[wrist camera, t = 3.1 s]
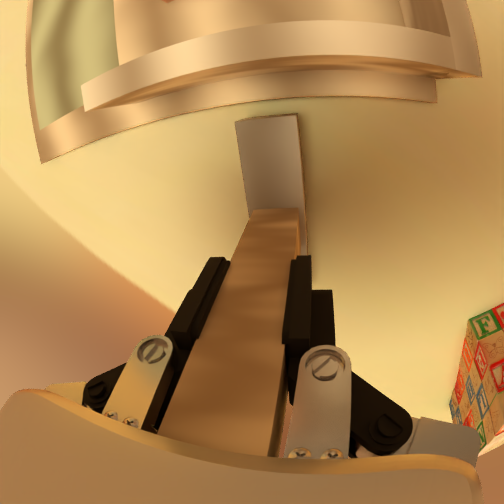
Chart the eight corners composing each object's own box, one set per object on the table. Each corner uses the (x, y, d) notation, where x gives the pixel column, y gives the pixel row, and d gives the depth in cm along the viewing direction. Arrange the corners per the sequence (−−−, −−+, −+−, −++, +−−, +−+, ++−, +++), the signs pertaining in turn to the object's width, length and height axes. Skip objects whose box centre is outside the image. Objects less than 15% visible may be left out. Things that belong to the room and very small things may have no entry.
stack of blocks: (481, 390, 26) (495, 455, 15) (448, 404, 28) (458, 471, 18) (512, 296, 17) (559, 390, 7) (466, 317, 19) (505, 426, 9)
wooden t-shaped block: (297, 113, 14) (160, 365, 1) (308, 282, 20) (285, 514, 7) (246, 118, 15) (-49, 288, 1) (269, 282, 21) (214, 504, 7)
